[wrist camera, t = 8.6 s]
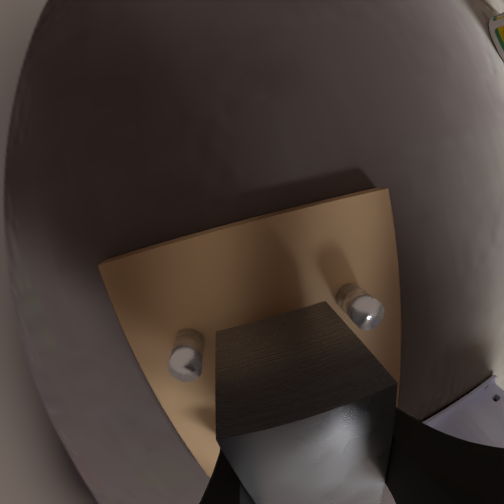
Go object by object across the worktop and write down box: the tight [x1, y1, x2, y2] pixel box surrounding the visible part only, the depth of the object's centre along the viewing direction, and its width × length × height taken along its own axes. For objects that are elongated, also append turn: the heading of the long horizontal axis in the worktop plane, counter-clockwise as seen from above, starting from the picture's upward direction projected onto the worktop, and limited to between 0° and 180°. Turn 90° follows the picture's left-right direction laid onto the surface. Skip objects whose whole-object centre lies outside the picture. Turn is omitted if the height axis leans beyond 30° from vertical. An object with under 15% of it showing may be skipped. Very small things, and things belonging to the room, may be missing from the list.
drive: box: [215, 301, 398, 504], centre depth 8 cm, size 4×8×5 cm, turn 14°
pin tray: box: [98, 188, 401, 477], centre depth 12 cm, size 12×14×3 cm
